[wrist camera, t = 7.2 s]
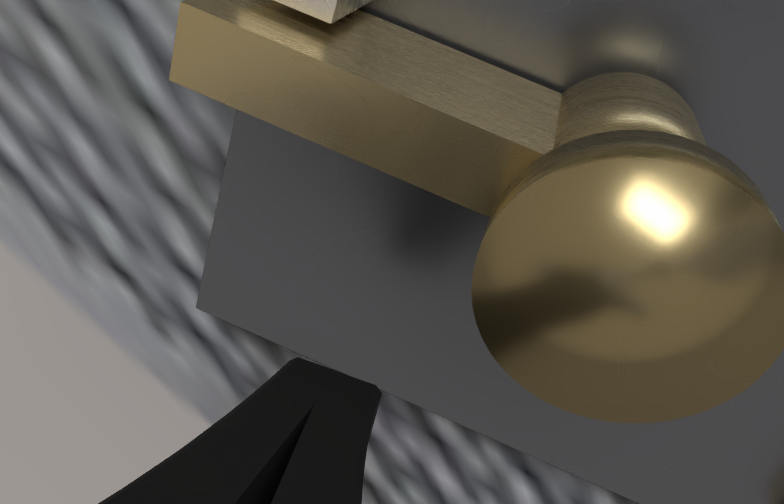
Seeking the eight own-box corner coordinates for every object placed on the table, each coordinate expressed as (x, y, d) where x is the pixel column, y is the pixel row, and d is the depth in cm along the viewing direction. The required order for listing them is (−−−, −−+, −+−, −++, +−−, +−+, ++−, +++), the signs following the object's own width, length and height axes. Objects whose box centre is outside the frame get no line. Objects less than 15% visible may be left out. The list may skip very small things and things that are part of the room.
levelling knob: (768, 99, 9) (878, 243, 6) (655, 268, 11) (686, 464, 7) (288, -97, 10) (105, -81, 6) (246, 93, 11) (82, 197, 8)
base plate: (1485, 143, 9) (1885, 263, 6) (907, 578, 14) (980, 742, 12) (351, -291, 10) (256, -355, 7) (222, 278, 15) (141, 366, 12)
